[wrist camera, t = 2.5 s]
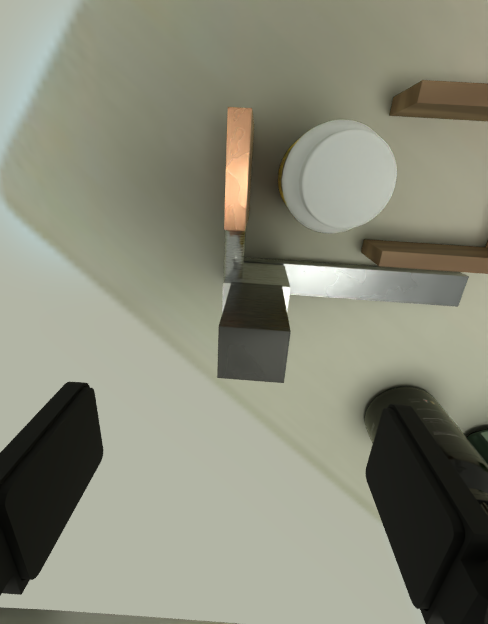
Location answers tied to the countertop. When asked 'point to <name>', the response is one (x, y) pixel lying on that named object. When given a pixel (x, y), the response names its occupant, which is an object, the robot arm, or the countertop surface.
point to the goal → (445, 105)
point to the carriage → (249, 277)
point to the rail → (371, 282)
